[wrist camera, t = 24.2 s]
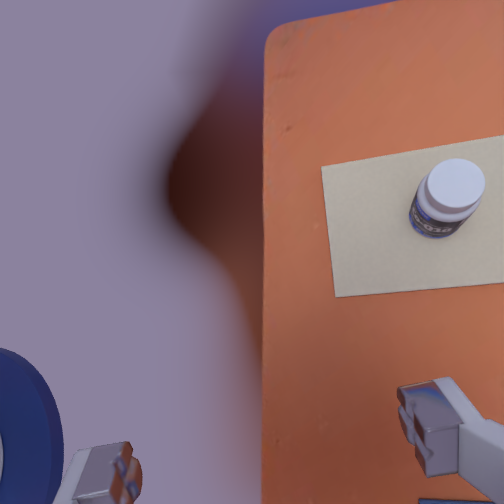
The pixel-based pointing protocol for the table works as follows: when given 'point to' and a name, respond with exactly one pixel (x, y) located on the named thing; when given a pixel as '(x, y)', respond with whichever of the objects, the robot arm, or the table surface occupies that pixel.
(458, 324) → the table surface
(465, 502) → the blue mat
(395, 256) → the cream mat
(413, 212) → the pill bottle
